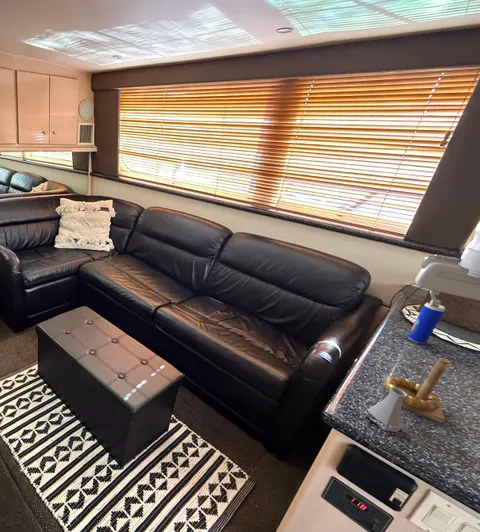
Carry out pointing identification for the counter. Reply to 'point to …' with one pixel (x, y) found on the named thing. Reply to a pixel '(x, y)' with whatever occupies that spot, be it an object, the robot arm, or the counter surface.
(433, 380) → the stand
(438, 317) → the beverage can
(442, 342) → the counter surface
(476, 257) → the robot arm
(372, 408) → the flask
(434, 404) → the ring
